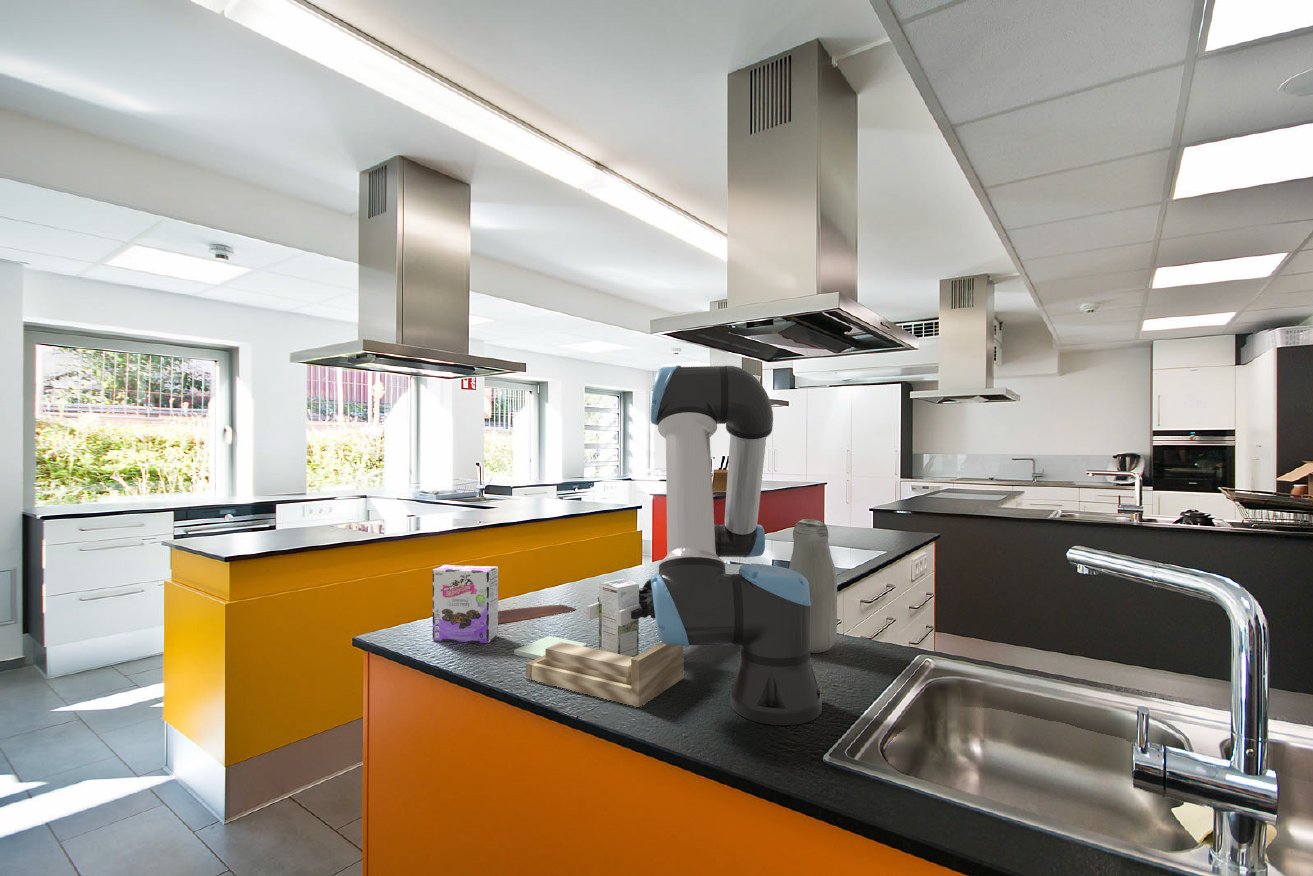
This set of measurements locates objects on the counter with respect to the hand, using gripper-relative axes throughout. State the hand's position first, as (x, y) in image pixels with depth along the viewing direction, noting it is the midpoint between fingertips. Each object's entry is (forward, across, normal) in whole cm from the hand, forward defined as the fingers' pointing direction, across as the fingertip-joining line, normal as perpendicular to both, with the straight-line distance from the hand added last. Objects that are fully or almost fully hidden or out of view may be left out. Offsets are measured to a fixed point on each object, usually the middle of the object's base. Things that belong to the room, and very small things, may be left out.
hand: (603, 616), depth 118 cm
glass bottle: (-35, -29, -12) cm, 47 cm away
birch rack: (0, 0, -12) cm, 12 cm away
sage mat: (-7, +19, -12) cm, 23 cm away
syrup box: (-5, 0, -9) cm, 10 cm away
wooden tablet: (-26, +44, -12) cm, 52 cm away
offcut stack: (+3, 0, -12) cm, 13 cm away
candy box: (-4, +42, -12) cm, 44 cm away
